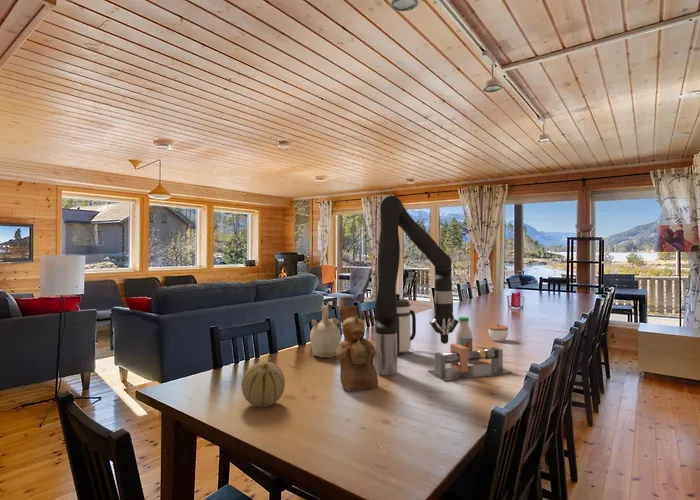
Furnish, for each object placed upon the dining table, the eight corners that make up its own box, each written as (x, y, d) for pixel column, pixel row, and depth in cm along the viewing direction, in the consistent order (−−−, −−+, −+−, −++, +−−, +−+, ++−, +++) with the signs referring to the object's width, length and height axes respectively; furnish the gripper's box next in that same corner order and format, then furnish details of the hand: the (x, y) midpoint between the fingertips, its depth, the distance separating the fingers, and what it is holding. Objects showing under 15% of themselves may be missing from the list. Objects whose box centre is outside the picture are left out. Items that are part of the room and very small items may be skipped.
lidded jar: (484, 339, 239) (484, 323, 239) (498, 337, 244) (498, 321, 244) (498, 343, 230) (497, 326, 230) (512, 341, 234) (512, 324, 234)
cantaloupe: (266, 394, 152) (266, 353, 152) (294, 403, 143) (293, 360, 143) (232, 406, 141) (231, 362, 141) (259, 417, 131) (259, 370, 131)
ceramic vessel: (343, 395, 151) (342, 312, 151) (330, 377, 172) (329, 304, 172) (384, 390, 155) (383, 310, 155) (366, 373, 176) (365, 303, 176)
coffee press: (414, 357, 202) (413, 295, 202) (381, 355, 205) (381, 295, 205) (416, 348, 219) (415, 291, 219) (385, 347, 222) (385, 291, 222)
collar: (461, 372, 170) (461, 348, 170) (450, 366, 178) (450, 344, 178) (467, 371, 171) (467, 347, 171) (456, 365, 179) (456, 343, 179)
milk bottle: (454, 360, 196) (453, 318, 196) (457, 356, 203) (457, 315, 203) (470, 362, 192) (470, 319, 192) (474, 358, 199) (473, 316, 199)
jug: (342, 351, 215) (341, 303, 215) (338, 359, 200) (338, 307, 200) (313, 350, 217) (312, 302, 217) (307, 358, 201) (306, 307, 201)
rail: (444, 381, 165) (444, 358, 165) (427, 371, 178) (427, 350, 178) (511, 373, 175) (511, 351, 175) (490, 364, 188) (490, 344, 188)
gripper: (434, 303, 167) (435, 346, 167) (462, 301, 171) (463, 343, 171) (425, 301, 174) (426, 342, 174) (452, 299, 178) (453, 340, 178)
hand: (444, 343), depth 173 cm, fingers closed
